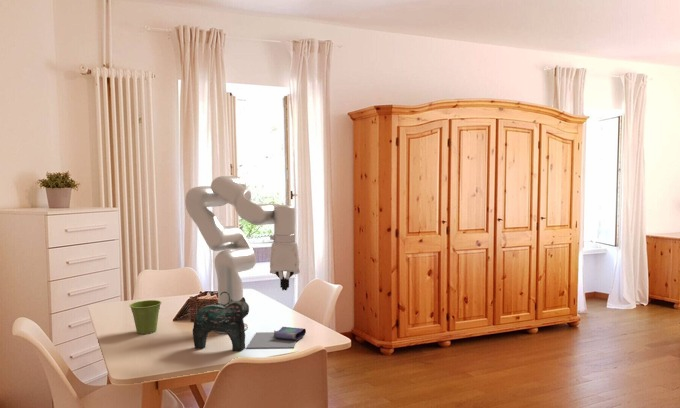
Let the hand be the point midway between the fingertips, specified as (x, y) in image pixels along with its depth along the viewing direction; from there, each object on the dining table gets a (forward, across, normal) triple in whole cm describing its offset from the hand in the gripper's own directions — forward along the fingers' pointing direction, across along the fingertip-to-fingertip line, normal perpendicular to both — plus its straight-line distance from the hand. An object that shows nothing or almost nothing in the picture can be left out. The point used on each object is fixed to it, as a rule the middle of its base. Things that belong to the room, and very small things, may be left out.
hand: (284, 289), depth 182 cm
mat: (+19, -4, -1) cm, 19 cm away
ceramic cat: (+19, -21, -10) cm, 30 cm away
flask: (+16, +6, 0) cm, 18 cm away
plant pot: (+20, -56, +12) cm, 61 cm away
